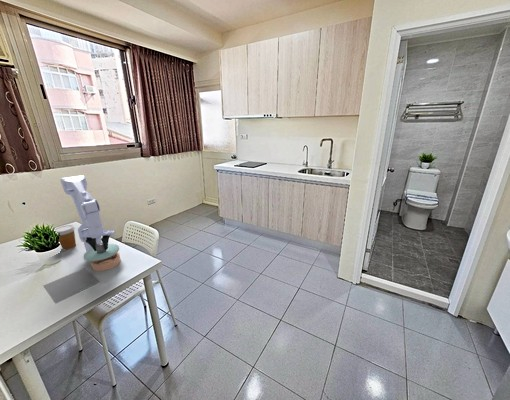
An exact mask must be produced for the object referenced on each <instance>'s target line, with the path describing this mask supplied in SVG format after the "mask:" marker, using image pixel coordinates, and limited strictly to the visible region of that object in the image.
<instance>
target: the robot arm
mask: <svg viewBox="0 0 510 400" xmlns="http://www.w3.org/2000/svg"><path fill="white" fill-rule="evenodd" d="M60 183H61V187H62V189H63V191H64V193H65V195H67V196H68V195H69V196H70V197H71V198H72V200H73V201H74V206H75V207H76V210H77V213H78V217H79V219H80V222H81V224H80V225H79V226H78V228H77V233H78V237H79V240H80V241H81V242H82V243H83V245H84V249H85V252H84V254H85V253H86V252H87V251H88V250H90V249H92V248H93V249H94V251H96V247H95V245H96V244H98V243H103V245H104V249H105V250H107V249H108V244H109V239H110V237H113V236H115V235H116V232H115V230H104V226H103V223H102V219H101V214H100V211H101V208H100V204H99V202H98V200H97V199H96V198H93V196H92V194H91V192H89V191H87V188H88V187H87V185H88V182H87V178H86V176H85V175H83V174H81V175H73V176H67V177H61V178H60Z"/></svg>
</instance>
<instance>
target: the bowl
mask: <svg viewBox="0 0 510 400" xmlns="http://www.w3.org/2000/svg"><path fill="white" fill-rule="evenodd" d="M119 263H121V256H120V253H119V251H118V252H117V253H116V254H115V255H113V256H111V257H109V258H106V259H103V260H99V261H90V265H91V268H92V269H93V270H94V271H96V272H102V271H107V270H110V269H112V268H114V267H117V265H119Z"/></svg>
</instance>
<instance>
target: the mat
mask: <svg viewBox="0 0 510 400" xmlns="http://www.w3.org/2000/svg"><path fill="white" fill-rule="evenodd" d="M98 283H101V281H100V280H99V279H98V278H96V276H95V275H94V274H92V273H91V271H89V270H88V269H87V268H86V267H84V268H81V269H79V270H77V271H74V272H72V273H69V274H67V275H64V276H63V277H60V278H58V279H56V280H54V281H51V282H47V283H46V284H44V285H43V287H44V288H45V291H46V292H47V293H48V295H49V296H50V297H51V299H52V300H53V302H54V303H55V304H58V303H60V302H62V301H64V300H66V299H69V298H70V297H72V296H74V295H76V294H79V293H80V292H82V291H84V290H87V289H88V288H91V287H93V286H95V285H96V284H98Z"/></svg>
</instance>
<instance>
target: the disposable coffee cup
mask: <svg viewBox="0 0 510 400" xmlns="http://www.w3.org/2000/svg"><path fill="white" fill-rule="evenodd" d="M54 230H55V231H56V232H57V233H60V237H59V241H58V243H59V242H60V243H59V245H60V246H61V248H62V249H63V250H70V249H73V248H74V247H77V243H76V235H75V227H74V226H73V224H72V225H71V224H70V225H69V224H67V225H66V224H65V225H62V226H61V225H60V226H58V227H56V228H55V229H54Z"/></svg>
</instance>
